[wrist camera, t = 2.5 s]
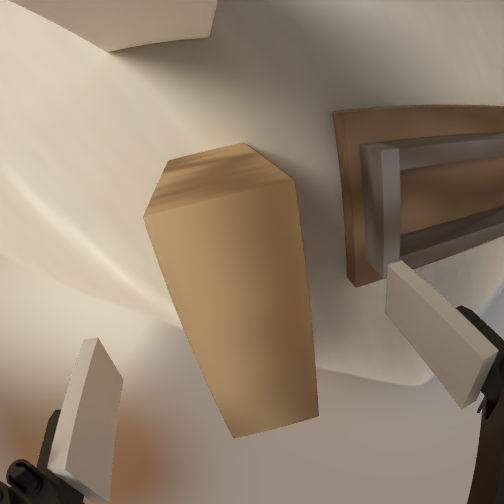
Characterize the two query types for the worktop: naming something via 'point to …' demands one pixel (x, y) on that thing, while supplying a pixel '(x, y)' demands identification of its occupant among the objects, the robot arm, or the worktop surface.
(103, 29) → the milk
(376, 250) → the wooden tray
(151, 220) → the tan wooden block
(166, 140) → the worktop surface
